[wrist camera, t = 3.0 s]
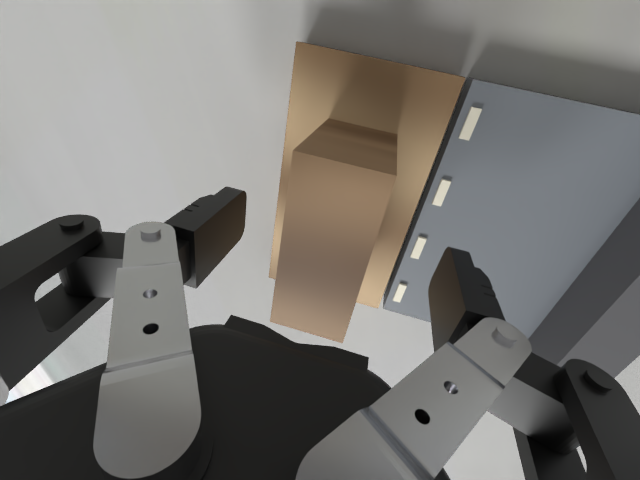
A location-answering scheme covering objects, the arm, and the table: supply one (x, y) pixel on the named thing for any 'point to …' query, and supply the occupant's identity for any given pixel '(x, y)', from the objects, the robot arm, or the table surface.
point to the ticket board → (537, 220)
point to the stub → (350, 180)
